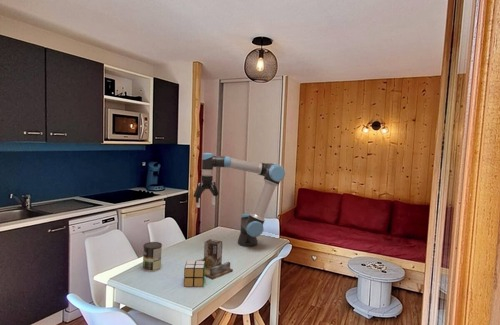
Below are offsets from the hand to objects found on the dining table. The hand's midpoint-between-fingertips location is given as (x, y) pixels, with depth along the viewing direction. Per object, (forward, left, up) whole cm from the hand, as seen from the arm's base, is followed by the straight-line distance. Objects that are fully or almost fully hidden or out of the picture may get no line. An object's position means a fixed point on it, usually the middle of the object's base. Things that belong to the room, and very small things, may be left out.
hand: (205, 206), depth 201 cm
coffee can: (+40, +1, -32) cm, 51 cm away
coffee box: (+16, +27, -31) cm, 44 cm away
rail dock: (+16, +27, -32) cm, 45 cm away
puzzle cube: (+33, +32, -32) cm, 56 cm away
